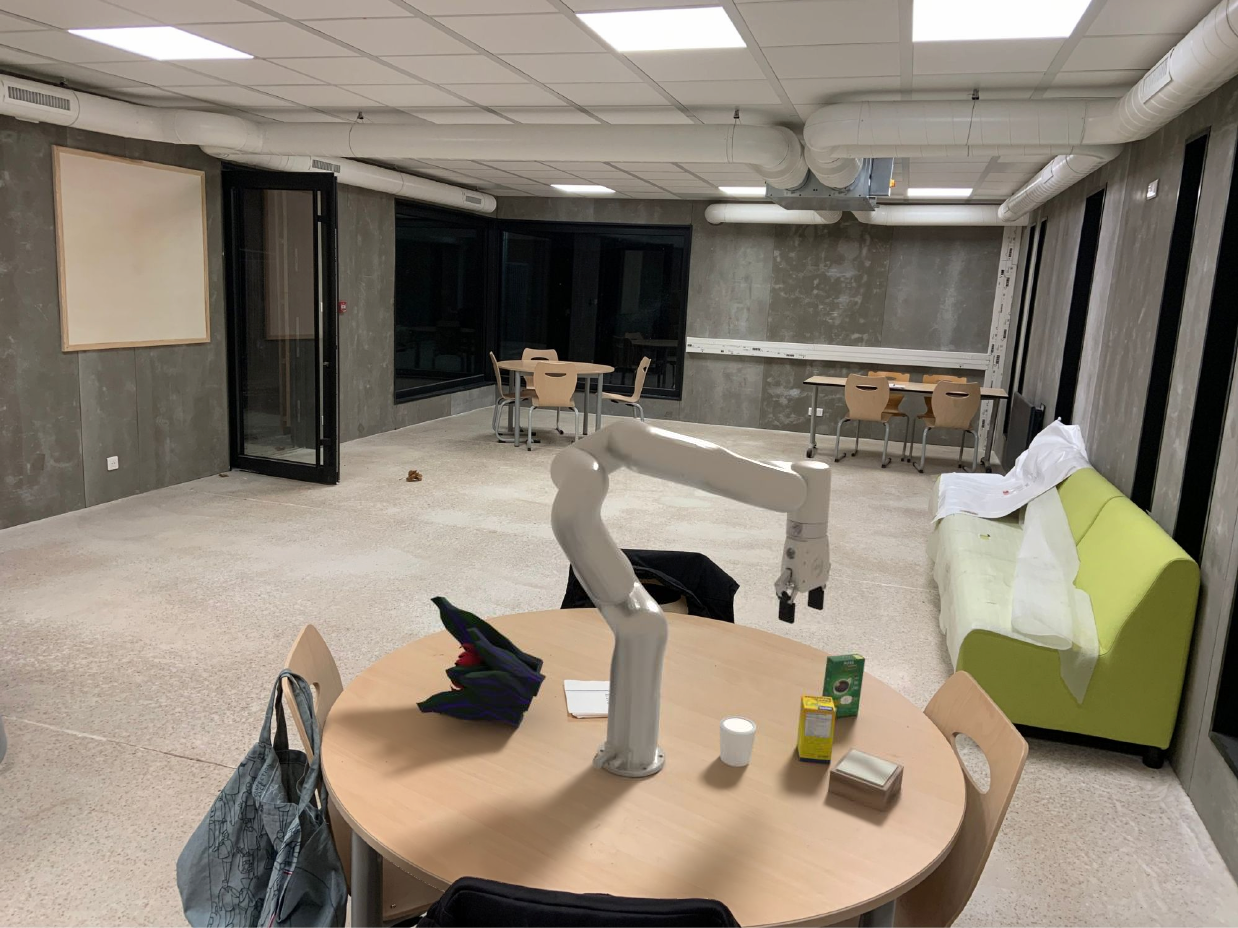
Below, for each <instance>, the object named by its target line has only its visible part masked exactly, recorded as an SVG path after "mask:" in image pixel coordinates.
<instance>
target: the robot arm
mask: <svg viewBox="0 0 1238 928" xmlns="http://www.w3.org/2000/svg"><path fill="white" fill-rule="evenodd" d="M622 468H625V469H627V470H629V471H631V472H633V473H635V474H639V475H643V476H646V477H647V476H648V477H651V478H653V479H654V478H655V479H658V480H663V481H666V482H670V483H675V484H678V485H681V486H684V487H686V486H687V487H690V488H693V489H697V490H700V491H703V492H705V493H708V494H712V495H715V496H720V497H723V498H726V499H730V500H733V501H735V502H739V503H743V504H745V505H749V506H751V507H756V508H760V509H764V510H767V511H771V512H776V513H783V514H785V513H786V524H785V525H786V527H785V540H784V544H783V549H782V551H783V552H782V557H781V567H780V576H779V577H778V578H777V579H776V581H774V584H773V586H774V588H775V589H774V590H775V594H776V597H777V601H779V603H778V620H779V621H781V622H785V623H787V624H791V625H792V624H794V623H795V618H796V617H795V616H796V602H794V601H795V599H796V597H797V595H798V593H800V594H804V593H808V594H807V607H808V608H811V609H815V610H818V611H822V610H823V609H824V602H825V601H824V600H825V590H826V588H827V583H828V581H829V579H830V578H829V576H830V571H831V568H832V563H831V562H830V541H829V534H828V529H829V528H828V527H829V526H828V525H829V514H830V502H831V500H830V499H831V484H832V469H831V467H830V466H829V465H828V464H827V463H824V462H821V461H815V460H814V461H813V460H800V461H796V462H791V461H790V462H787V461H777V460H769V459H767V460H758V461H756V460H755V461H754V460H752V459H748V458H746V457H743V456H741V455H738V454H737V453H734V452H732V451H730V450H728V449H726V448H725V447H722V446H721V445H717V444H715V443H713V442H709V441H707V440H704V439H700V438H695V437H691V436H688V435H685V434H681V433H676V432H674V431H670V430H667V429H664V428H660V427H656V426H654V425H651V424H648V423H646V422H644V421H642V420H640V419H638V418H635V417H624V418H621V419H617V420H616V421H614V422H611V423H610V424H607V425H605V426H603V427H602V428H599V429H598V430H595V431H594V432H592V433H591V434H588V435H586V436H585V437H583V438H580V439H578V440H577V441H574V442H573V443H571V444H569V445H567V446H565V447H564V448H562V449H561V450H559V451H558V452H557V453H556V454H555V455H554V456H553V458H552V461H551V464H550V471H549V472H550V473H549V474H550V478H551V480H552V483H553V484H554V487H556V489H557V492H556V495H555V498H554V501H553V503H552V507H551V512H550V525H551V530H552V532H553V535H554V537H555V539H556V541H557V544H558V545H559V547H560V548H561V550H562V551H563V553H564V554H565V556H566V558H567V560H568V561H569V563H570V564H571V566H572V567H571V568H572V571H573V574H574V575H575V577H576V579H577V580H578V581H579V583H580V585H581V587H582V588H583V590H584V591H585V592H586V594H587V596H588V597H589V598H590V600H591V602H592V603H593V604H594V606H595V607H596V609H597V610H598V612H599V613H600V614H601V616H602V618H603V620H605V622H606V624H607V625H608V626H609V628H610V630H611V632H612V634H613V637H614V647H613V651H612V654H611V655H612V656H611V661H610V669H609V687H608V689H609V691H608V692H609V693H608V704H607V705H608V706H607V707H608V708H607V710H608V711H607V723H606V741H604V742H603V743H601V745H600V746H598V749H597V756H596V757H595V758H593V760H592V764H593V767H594V768H595V769H597V770H598V769H599V770H600V769H601V768H604V769H605V770H606V771H608V772H610V773H613V774H615V775H618V776H621V777H627V778H629V777H631V778H638V777H639V778H641V777H646V776H650V775H653V774H655V773H657V772H659V771H660V770H661V769H662V768H663V767H664V765H665V763H666V753H665V751H664V749H663V748H661V746H660V745H659V744H658V743H659V729H660V728H659V727H660V714H661V713H660V712H661V697H662V683H663V670H664V669H663V668H664V662H665V661H664V660H665V654H666V649H667V645H668V643H669V634H670V629H669V628H670V626H669V622H668V619H667V617H666V613H664V610H663V609H662V607H661V606H660V605H659V604H658V602H657V601H656V600H655V599H654V598H653V597H652V596H651V595H650V593H649V592H648V591H647V590H646V589H645V587H644V585H642V583H641V582H640V580H639V578H638V577H637V575H636V574H635V571H634V568H633V565H632V563H631V561H630V560H629V558H628V557H627V555H626V554H625V553H624V552H623V551H622V550H621V548H620V547H619V546H618V545H617V543H616V541H615V540H614V538H613V537H612V535H611V533H610V531H609V529H608V528H607V526H606V524H605V523H604V522H603V519H602V515H601V513H602V511H601V510H602V506H603V503H604V502H605V499H606V497H607V494H608V492H609V487H610V478H609V475H611V474H613V473H615V472H617V471H619V470H621V469H622ZM787 591H791V592H790V594H789V593H788V592H787Z"/></svg>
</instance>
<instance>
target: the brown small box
mask: <svg viewBox="0 0 1238 928" xmlns="http://www.w3.org/2000/svg"><path fill="white" fill-rule="evenodd" d="M904 767H905V766H904V765H902V764H898V763H895V762H892V761H890V760H886V759H884V758H881V757H879V756H878V757H877V756H875V755H872V754H870V753H867V752H863V751H860V750H858V749H856V748H852V747H850V748H848V750H847V751H846V752H845V753H844V754H843V755H842V757H840V758H839V760H838V761H837V762H836V763H835V764H834V765H833V766H832V768H831V769H830V770H829V776H828V777H829V778H828V787H827V788H828V789H827V791H828V792H830V793H833V794H836V795H839V796H841V797H843V798H847V799H849V800H852V801H854V802H857V803H859V804H861V805H864V806H867V807H870V808H873V809H875V810H878V811H881V812H884V811H886V810H885V809H886V808H887V807H888V805H889V804H890V803H891V802H892V801H893V799H894V797H895V796H896V795H897V793H898V792H899V791H900V789H901V787H902V782H903V775H904Z"/></svg>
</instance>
